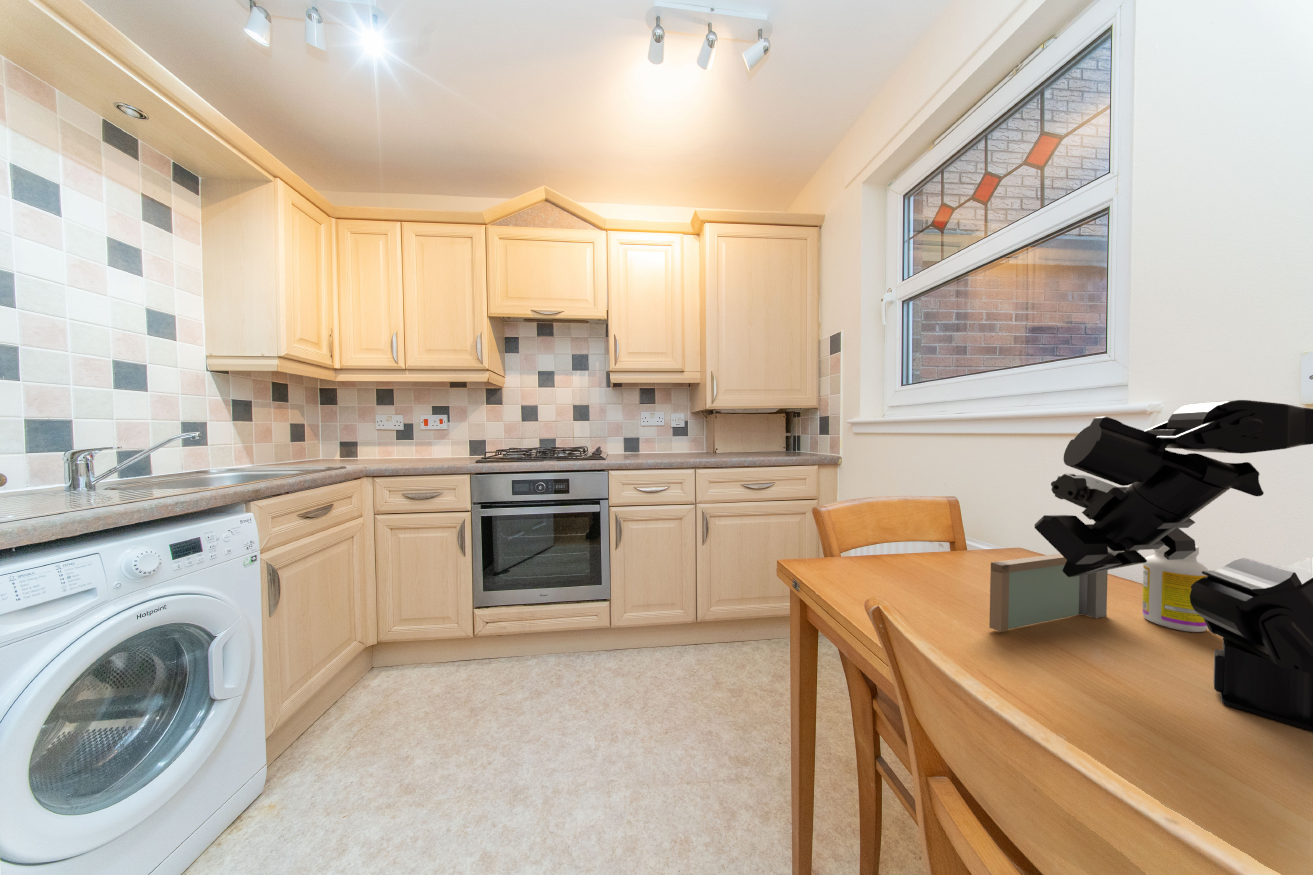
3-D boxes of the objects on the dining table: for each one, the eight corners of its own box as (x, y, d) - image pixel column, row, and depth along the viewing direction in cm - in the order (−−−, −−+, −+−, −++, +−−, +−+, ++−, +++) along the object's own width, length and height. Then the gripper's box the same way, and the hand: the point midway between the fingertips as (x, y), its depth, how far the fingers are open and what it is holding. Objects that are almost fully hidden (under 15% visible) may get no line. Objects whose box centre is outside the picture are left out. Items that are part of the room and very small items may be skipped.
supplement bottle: (1222, 634, 65) (1224, 549, 65) (1177, 633, 65) (1179, 548, 65) (1170, 615, 72) (1172, 538, 72) (1129, 614, 72) (1131, 538, 72)
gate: (1074, 609, 72) (1075, 550, 72) (1089, 614, 71) (1091, 554, 70) (987, 626, 66) (989, 562, 65) (1002, 632, 64) (1003, 565, 64)
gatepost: (1083, 608, 74) (1085, 539, 74) (1106, 615, 71) (1108, 543, 71) (1072, 611, 73) (1074, 540, 73) (1095, 618, 70) (1097, 544, 70)
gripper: (1153, 454, 59) (1070, 527, 69) (1043, 452, 56) (972, 530, 65) (1249, 517, 51) (1139, 590, 60) (1126, 520, 47) (1030, 597, 57)
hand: (1067, 573), depth 61 cm, fingers closed
